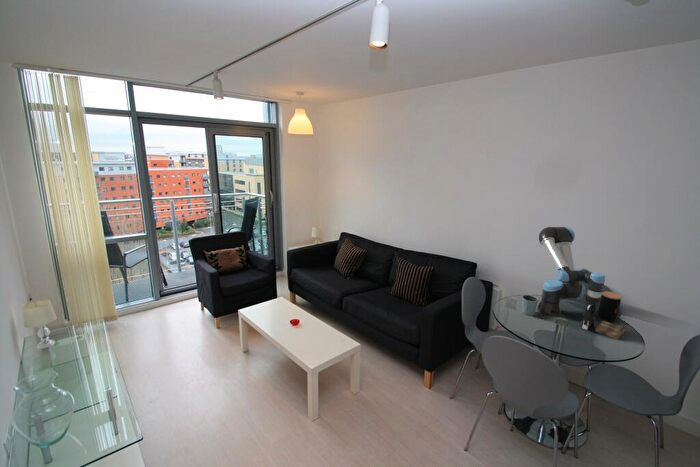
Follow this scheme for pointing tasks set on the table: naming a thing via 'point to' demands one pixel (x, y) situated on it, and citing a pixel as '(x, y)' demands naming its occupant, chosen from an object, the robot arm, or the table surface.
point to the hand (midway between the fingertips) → (586, 326)
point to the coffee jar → (609, 306)
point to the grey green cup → (529, 305)
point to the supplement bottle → (591, 321)
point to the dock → (610, 329)
